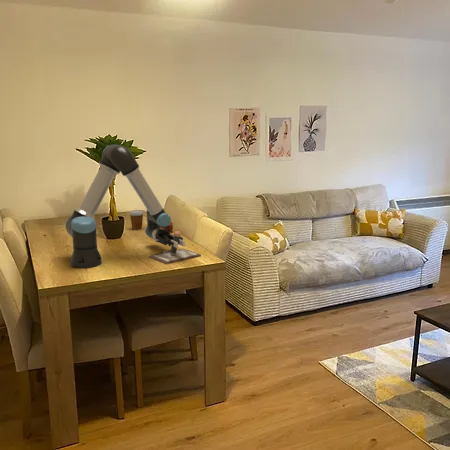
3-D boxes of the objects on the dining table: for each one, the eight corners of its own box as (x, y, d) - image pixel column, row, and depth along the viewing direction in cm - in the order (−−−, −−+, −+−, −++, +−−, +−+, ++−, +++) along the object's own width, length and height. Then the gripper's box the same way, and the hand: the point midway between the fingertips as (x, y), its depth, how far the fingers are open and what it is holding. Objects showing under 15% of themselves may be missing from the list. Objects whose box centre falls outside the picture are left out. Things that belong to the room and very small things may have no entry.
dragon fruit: (168, 236, 302) (163, 235, 313) (178, 227, 305) (172, 226, 316) (160, 226, 300) (154, 225, 310) (170, 217, 302) (164, 217, 313)
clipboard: (166, 264, 238) (166, 260, 238) (149, 257, 250) (149, 253, 250) (200, 256, 252) (200, 252, 252) (183, 250, 264) (183, 246, 264)
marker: (172, 256, 248) (177, 235, 241) (168, 252, 250) (173, 231, 243) (177, 254, 251) (182, 233, 243) (173, 251, 252) (178, 230, 245)
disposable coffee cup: (141, 230, 311) (140, 213, 309) (127, 230, 313) (126, 212, 311) (146, 227, 320) (145, 210, 318) (133, 227, 322) (132, 210, 320)
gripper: (174, 240, 266) (194, 249, 247) (148, 244, 257) (166, 254, 238) (174, 227, 264) (194, 235, 245) (147, 230, 256) (165, 239, 236)
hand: (180, 244), depth 242 cm, fingers closed on marker, 3 cm apart
